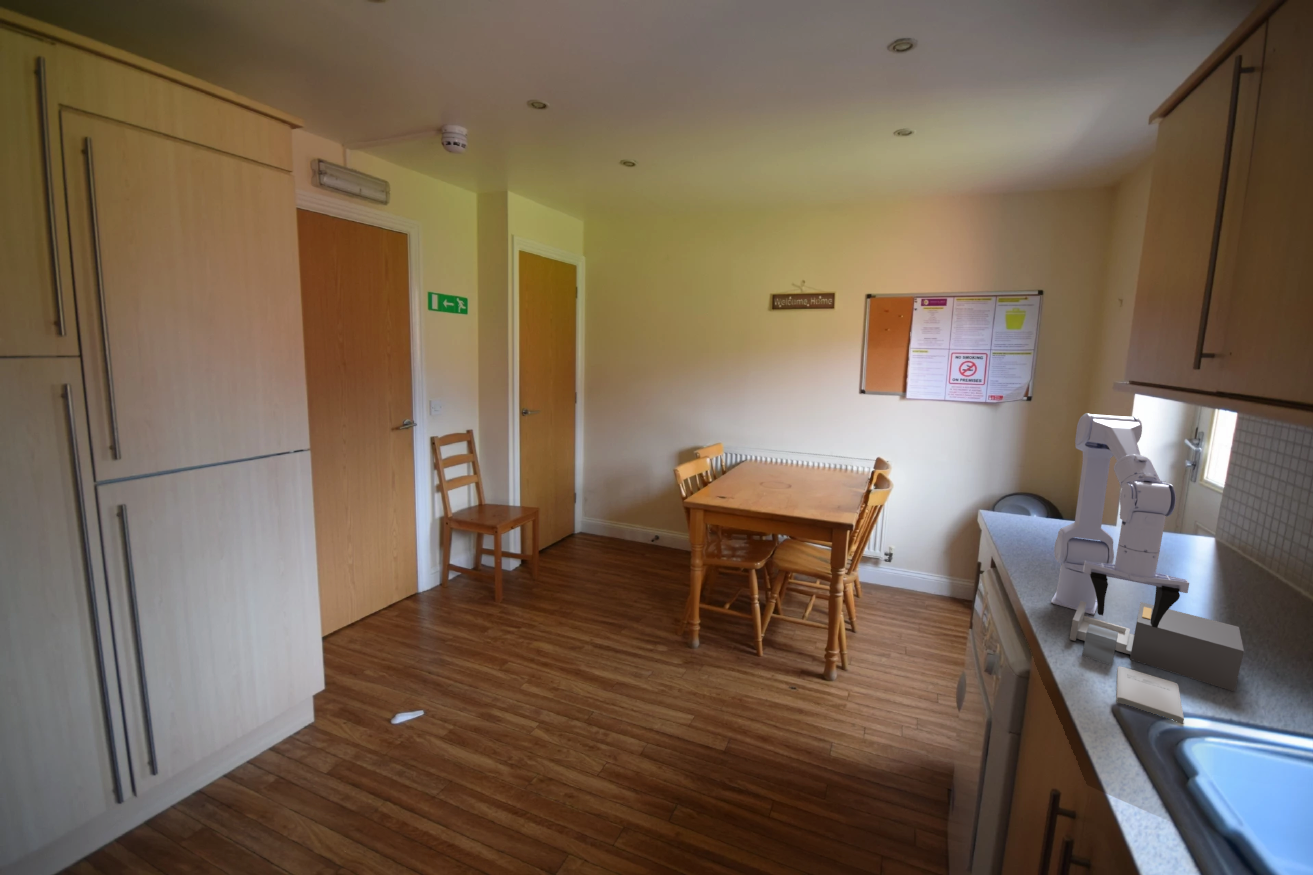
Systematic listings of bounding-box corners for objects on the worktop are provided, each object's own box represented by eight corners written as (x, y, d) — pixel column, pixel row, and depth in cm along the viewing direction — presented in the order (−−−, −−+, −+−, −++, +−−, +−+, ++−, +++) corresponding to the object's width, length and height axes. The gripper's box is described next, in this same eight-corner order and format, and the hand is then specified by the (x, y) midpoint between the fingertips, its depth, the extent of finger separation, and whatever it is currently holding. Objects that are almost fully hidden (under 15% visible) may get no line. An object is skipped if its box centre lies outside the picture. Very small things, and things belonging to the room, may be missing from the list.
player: (1133, 636, 116) (1140, 600, 114) (1230, 664, 106) (1239, 625, 105) (1129, 659, 107) (1137, 620, 105) (1234, 691, 97) (1244, 649, 96)
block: (1085, 647, 111) (1089, 623, 110) (1113, 656, 108) (1118, 632, 107) (1082, 656, 107) (1086, 631, 107) (1111, 665, 105) (1116, 640, 104)
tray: (1077, 619, 122) (1080, 600, 121) (1162, 643, 113) (1166, 623, 112) (1069, 639, 113) (1072, 619, 112) (1160, 667, 104) (1164, 645, 103)
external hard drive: (1115, 704, 94) (1116, 672, 103) (1182, 727, 88) (1177, 691, 98) (1117, 696, 93) (1118, 664, 103) (1184, 717, 88) (1178, 682, 98)
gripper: (1090, 544, 103) (1079, 615, 104) (1198, 563, 95) (1184, 639, 96) (1087, 535, 108) (1076, 602, 110) (1188, 552, 101) (1175, 624, 102)
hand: (1126, 619), depth 104 cm, fingers open, 7 cm apart
